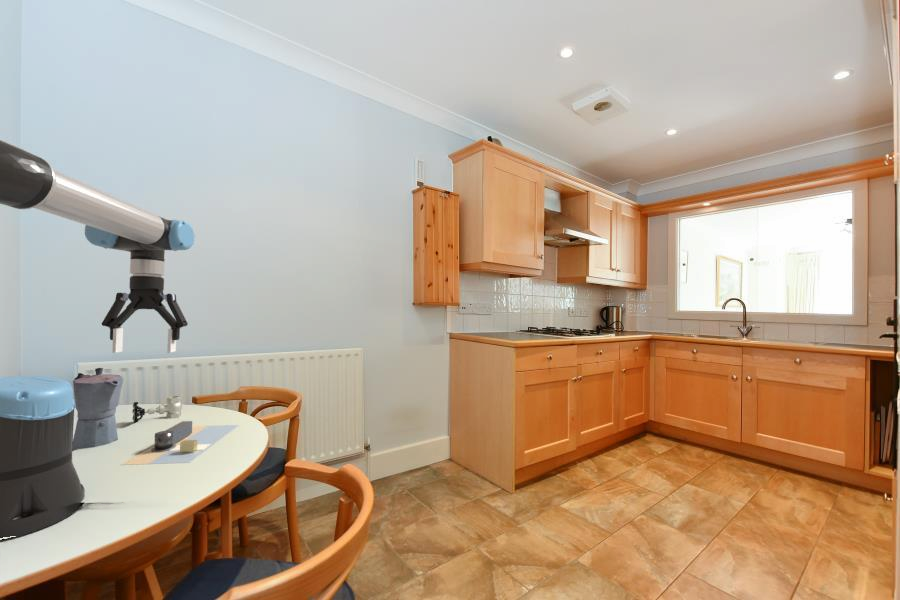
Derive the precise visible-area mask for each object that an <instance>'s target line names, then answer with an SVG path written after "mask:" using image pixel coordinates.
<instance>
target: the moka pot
mask: <svg viewBox="0 0 900 600" xmlns="http://www.w3.org/2000/svg"><path fill="white" fill-rule="evenodd" d="M94 370H95V371H94V372H95V374H84V373H81V372H78V374H77V375H76V376H75V378H74V380H73V381H72V387H73V396H74V401H75V404H74V405H75V409H76V411H77V416H76V417H77V419H76V420H77V421H76V425H75V430H74V433H73V446H72V452H74V451H76V450H77V451H78V450H79V449H80V450H82V449H90V448H98V447H101V446H106V445H110V444H112V443H114V442H116V441H117V440H118V439H119V438H118V437H119V436H118V429H117V419H116V413H117V407H118V406H119V402H120V397H121V392H122V387H123V382H124V377H123V376H122V375H120V374H109V373H107V374H104V373H103V372H104V368H103V367H97V368H95V369H94Z"/></svg>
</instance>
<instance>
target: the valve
mask: <svg viewBox="0 0 900 600" xmlns="http://www.w3.org/2000/svg"><path fill="white" fill-rule="evenodd" d="M181 410H183V405H182V396H181V395H171V396H168V397H167V398H166V404H163V403H161V404H159V405H158V406H157V407H154V406H153V407H152V406H151V407H148V409H145V408H142V407H141V406H139V401H135V402H133V403H132V424H133V425H134V424H136V423H139V421H140V420H142V419H143V417H144V416H145V415H146V414H148V415H152V414H155V413H156V414H159V415H164V414H165V413H166V416H165V417H166V418H165V419H170V420H171V419H179V418H181V417H182V411H181ZM180 416H181V417H180Z"/></svg>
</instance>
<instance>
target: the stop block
mask: <svg viewBox="0 0 900 600" xmlns="http://www.w3.org/2000/svg"><path fill="white" fill-rule="evenodd" d="M196 451H197V440H184V441H182V442H181V443H180V453H194V452H196Z"/></svg>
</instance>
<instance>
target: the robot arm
mask: <svg viewBox="0 0 900 600" xmlns="http://www.w3.org/2000/svg"><path fill="white" fill-rule="evenodd" d="M0 205H4V206H8V207H10V208H14V209H17V210H30V209H37V210H40V211H42V212H45V213H49V214H51V215H55V216H58V217H61V218H64V219H67V220H70V221H73V222H76V223H80V224H83V225H85V226H84V235H85V238H86V240H87V242H89V243H90V244H91V245H93V246H96V247H100V248H104V249H110V250H111V249H112V250H117V251H124V252H129V253H130V260H129V261H130V263H129V273H130V277H129V293H127V292H117V293H116V294H115V300H114V301H113V304H112V305H111V307H110V309H109V310H108V311H107V314H106V315H105V317H104V319H103V321H102V322H101V325H102V326H103V327H108V328H109V339H110V341H112V353H115V354H116V353H122V352H123V348H124V347H123V345H124V328H123V327H122V325H123V324H124V323H125V322H126V321H127V320H128V319H129V318H130V317H132V315H133V314H134V313H136V311H138V310H153V311H155V312H157V313H158V314H159V315H160V316H161V318H162V319H163V320H164V321H165V322H166V323H167V324H168V326H169V327H170V328H168V329H167V353H174V352H177V341H178V340H180V335H181V334H180V329H181V328H183V327H187V326H188V324H189V323H188V322H187V320H186V317H185V315H184V314H183V312H182V310H181V307H180V305H179V304H178V302H177V295H176V294H175V293H167V294H165V293H164V289H165V279H164V277H163V276H164V275H165V251H173V252H177V251H186V250H187V251H188V250H189V249H191V248H192V246H193V245H194V243H195V237H196V236H195V231H194V229H193V227H192V225H191V224H190V223H189V222H187V221H184V220H177V219H172V220H171V219H166V218H164V217H162V216H159V215H156V214H154V213H153V212H150V211H148V210H146V209H143V208H141V207H139V206H136V205H134V204H132V203H130V202H127V201H125V200H122V199H120V198H119V197H117V196H116V197H115V196H114V195H111V194H108V193H106V192H105V191H102V190H100V189H98V188H95V187H93V186H91V185H89V184H86V183H84V182H82V181H79V180H77V179H74V178H73V177H70V176H68V175H66V174H63V173H61V172H60V171H59V172H58V170H57V171H56V170H55V169H53V167H52V165H51V164H50V163H49V162H48V161H46V160H45V159H43V158H42V157H40V156H38V155H35V154H33V153H31V152H30V151H29V152H28V151H27V150H25V149H23V148H21V147H20V148H19V147H18V146H15V145H12V144H11V143H8V142H6V141H3V140H0ZM128 300H129V301H130V302H129V303H128V305H127V306H126V308H125V309H124V310H123V311H122V309H123V308H124V306H125V304H126V303H127V301H128ZM163 301H165V302H167V306H168V307H169V309H170V311H171V313H172V314H171V313H170V311H169V310H168V309H167V308H166V306H165V305H164V304H163V303H162V302H163ZM75 407H76V404H75V398H74V387H73V385H72V384H71V383H70V382H69V381H68V380H64V378H63V379H62V378H58V377H55V376H54V377H53V376H44V375H31V376H25V375H19V376H18V375H17V376H16V375H14V376H5V377H0V538H3V537H10V536H17V537H21V536H23V535H28V534H31V533H33V532H36V531H39V530H43V529H45V528H47V527H49V526H51V525H52V526H53V525H54V524H56V523H58V522H61V521H63V520H65V519H66V518H68V517H70V516H72V515H73V514H75V513H77V511H79V510H80V509H81V508H82V507H83V506H84V504H85V502H82V501H83V500H84V499H85V495H86V494H85V493H86V492H85V491H86V490H85V489H86V488H85V487H84V485H83V484H82V483H81V480H80V478H79V475H78V473H77V470H76V468H75V465H74V464H73V451H72V446H73V438H74V419H75Z"/></svg>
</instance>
